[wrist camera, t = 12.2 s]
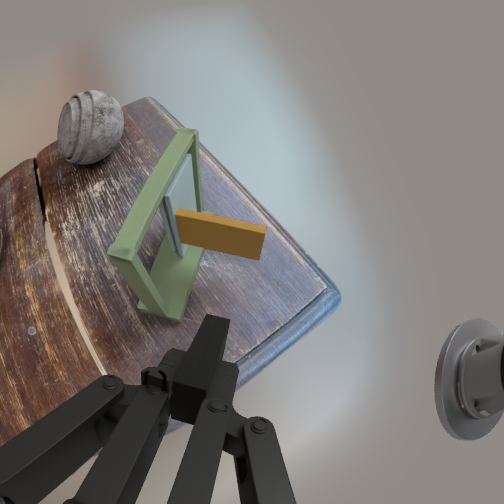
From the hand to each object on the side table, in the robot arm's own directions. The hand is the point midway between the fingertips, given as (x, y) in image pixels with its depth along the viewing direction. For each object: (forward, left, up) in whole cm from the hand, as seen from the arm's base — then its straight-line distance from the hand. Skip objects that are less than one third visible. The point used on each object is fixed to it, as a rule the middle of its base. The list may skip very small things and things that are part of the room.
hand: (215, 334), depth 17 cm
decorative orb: (+35, -32, -18) cm, 50 cm away
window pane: (+3, -16, -16) cm, 23 cm away
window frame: (+9, -13, -18) cm, 24 cm away
